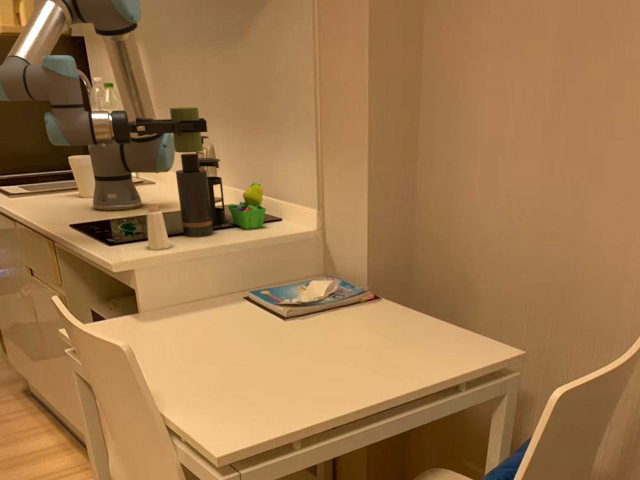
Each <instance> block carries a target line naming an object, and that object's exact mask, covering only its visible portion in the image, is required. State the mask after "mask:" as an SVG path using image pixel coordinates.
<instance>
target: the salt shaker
mask: <svg viewBox="0 0 640 480" xmlns="http://www.w3.org/2000/svg"><path fill="white" fill-rule="evenodd" d="M146 204H147V209H148V212H146V222H147V223H146V225H147V243H148V248H149V249H150V250H154V251H155V250H156V251H158V250H166V249H169V248H170V247H171V245H170V244H171V243H170V240H169V236H168V231H167V227H166V223H165V219H164V216H163V215H164V214H163V212H162V211H160V202H159V201H158V200H150V201H147V202H146Z"/></svg>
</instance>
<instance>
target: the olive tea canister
mask: <svg viewBox="0 0 640 480" xmlns="http://www.w3.org/2000/svg"><path fill="white" fill-rule="evenodd" d="M169 114H170V119H171V122H174V121H178V122H180V121H185V120H199V118H200V114H199V107H196V106H195V107H194V106H181V107H180V106H179V107H170V108H169ZM172 136H173V139H174V147H175V153H181V154H190V153H199V152H202V151H204V149H203V150H202V141H201V136H202V132H192V133H181V136H178V133H177V134H175V133H172Z"/></svg>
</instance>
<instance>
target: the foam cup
mask: <svg viewBox="0 0 640 480" xmlns="http://www.w3.org/2000/svg"><path fill="white" fill-rule="evenodd" d="M67 159H68V164H69V166H70V168H71V171H72V175H73V177H74V181H75V183H76V184H75V185H76V188H77V190H78V194H79V196H80V198H85V199H86V198H93V197H94V189H95V178H94V173H93V168H92V163H91V158H90V154H84V155H83V154H79V155H71V156H68V157H67Z"/></svg>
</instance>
